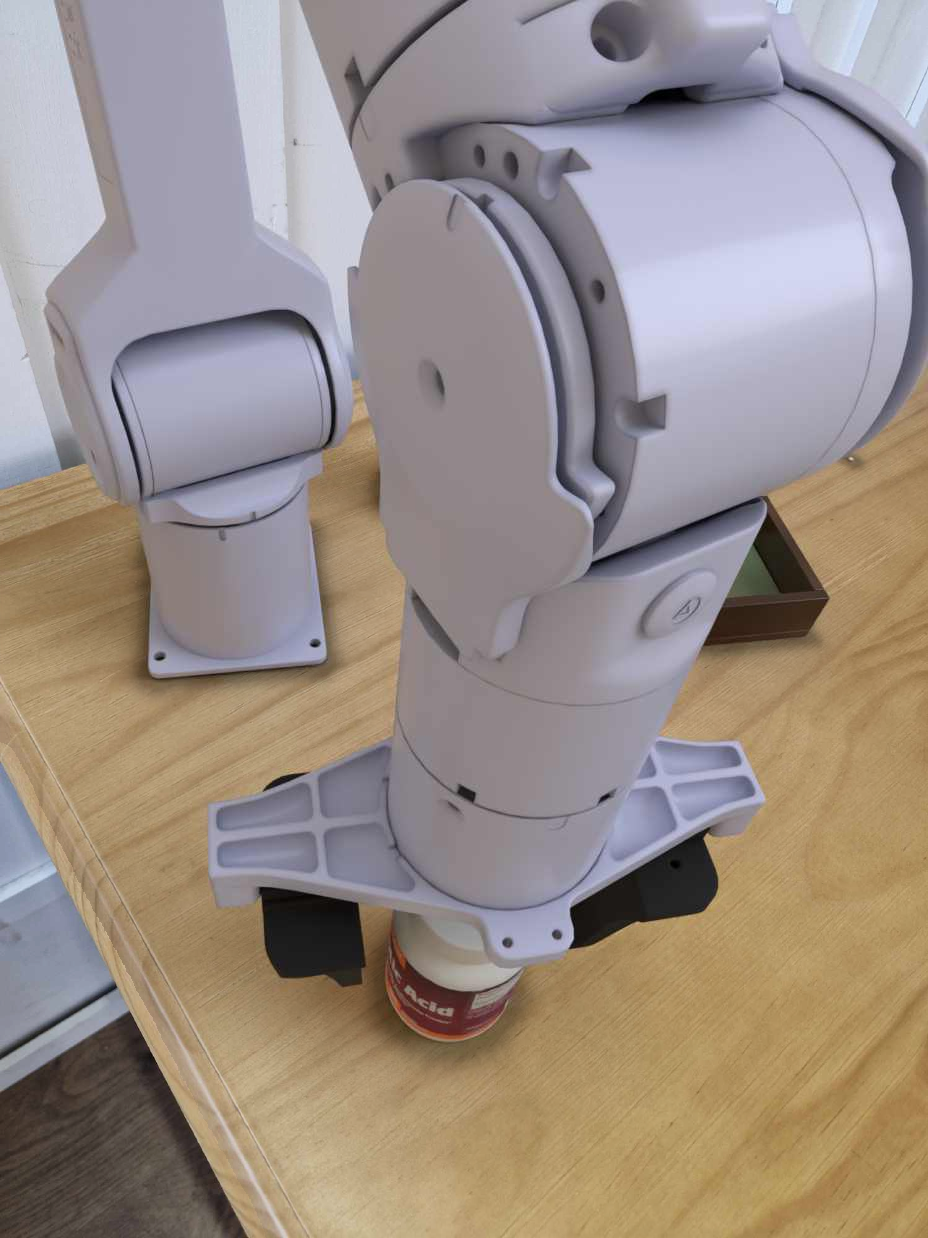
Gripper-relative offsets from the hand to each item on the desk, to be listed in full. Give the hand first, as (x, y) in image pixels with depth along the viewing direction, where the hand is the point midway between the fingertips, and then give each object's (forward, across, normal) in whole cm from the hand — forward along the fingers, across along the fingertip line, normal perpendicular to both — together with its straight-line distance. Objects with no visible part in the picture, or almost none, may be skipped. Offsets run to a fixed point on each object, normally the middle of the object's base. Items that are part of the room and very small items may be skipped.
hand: (461, 937), depth 30 cm
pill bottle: (+4, 0, 0) cm, 4 cm away
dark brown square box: (+4, +18, +18) cm, 26 cm away
